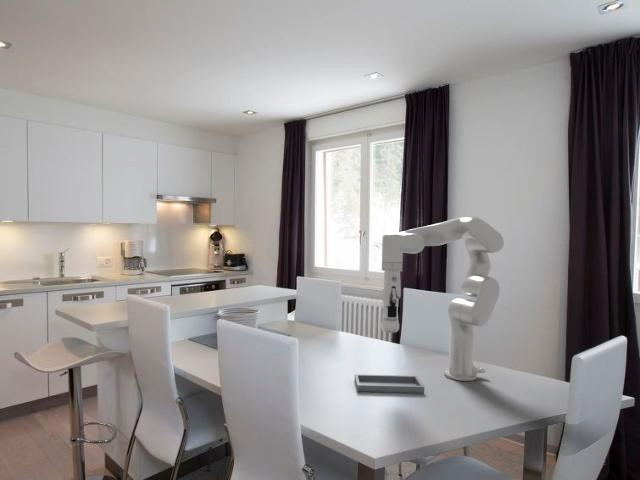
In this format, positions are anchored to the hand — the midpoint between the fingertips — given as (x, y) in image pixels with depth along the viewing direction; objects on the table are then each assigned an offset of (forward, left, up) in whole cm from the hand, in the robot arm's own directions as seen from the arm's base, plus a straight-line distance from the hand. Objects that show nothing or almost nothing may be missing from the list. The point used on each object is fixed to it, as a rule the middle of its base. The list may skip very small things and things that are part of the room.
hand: (390, 315), depth 163 cm
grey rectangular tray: (0, 0, -27) cm, 27 cm away
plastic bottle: (0, 0, -7) cm, 7 cm away
